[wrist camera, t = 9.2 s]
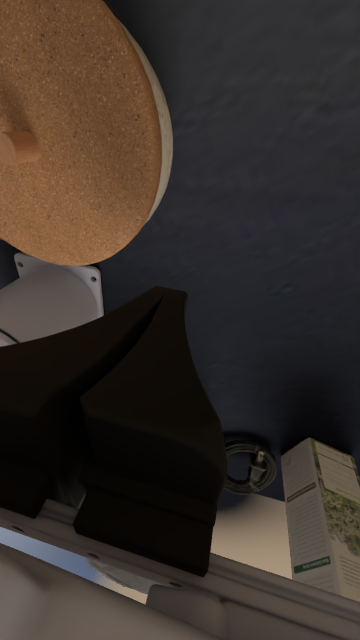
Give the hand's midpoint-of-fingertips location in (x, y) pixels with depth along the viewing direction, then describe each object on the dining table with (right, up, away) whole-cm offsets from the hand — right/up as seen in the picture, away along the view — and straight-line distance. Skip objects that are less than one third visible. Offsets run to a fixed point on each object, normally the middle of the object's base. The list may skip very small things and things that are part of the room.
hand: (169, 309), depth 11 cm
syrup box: (+16, -16, +20) cm, 30 cm away
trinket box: (-4, +11, +6) cm, 14 cm away
